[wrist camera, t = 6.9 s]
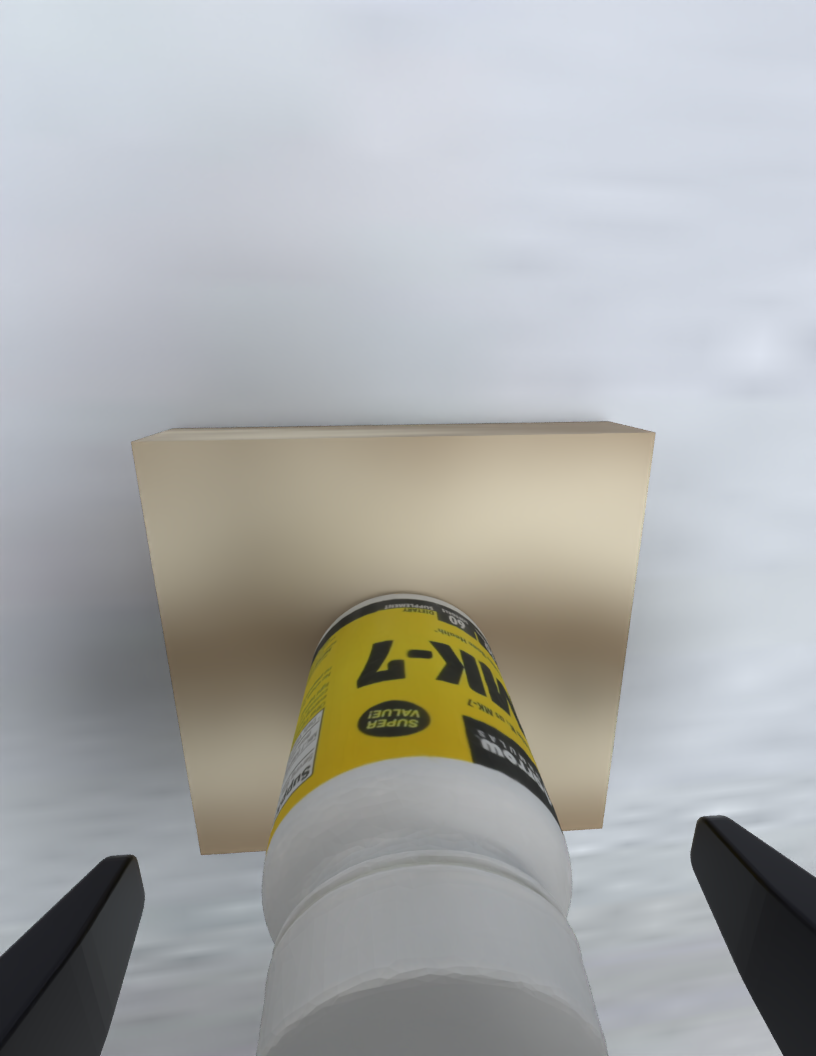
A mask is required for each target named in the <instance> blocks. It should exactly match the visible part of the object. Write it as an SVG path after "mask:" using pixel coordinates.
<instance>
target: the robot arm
mask: <svg viewBox="0 0 816 1056" xmlns="http://www.w3.org/2000/svg"><path fill="white" fill-rule="evenodd" d="M690 856H691V864H692V867H693V870H694V873H695V875H696V877H697V880H698V882H699V884H700V886H701V889H702V891H703V893H704V895H705V898H706V900H707V902H708V904H709V907H710V909H711V911H712V913H713V916H714V918H715V920H716V922H717V925H718V927H719V929H720V931H721V934H722V936H723V938H724V940H725V943H726V945H727V947H728V949H729V952H730V954H731V956H732V958H733V961H734V963H735V965H736V967H737V969H738V971H739V973H740V975H741V977H742V980H743V982H744V983H745V985H746V987H747V989H748V991H749V993H750V995H751V997H752V999H753V1001H754V1002H755V1004H756V1006H757V1008H758V1010H759V1012H760V1014H761V1015H762V1017H763V1019H764V1021H765V1023H766V1025H767V1026H768V1028H769V1030H770V1032H771V1034H772V1036H773V1037H774V1039H775V1041H776V1043H777V1045H778V1047H779V1048H780V1050H781V1052H782V1054H783V1056H816V877H814V876H813V875H811V874H810V873H808V872H807V871H806V870H804V869H803V868H801V867H800V866H798V865H797V864H795V863H794V862H792V861H791V860H790V859H788V858H787V857H785V856H784V855H782V854H781V853H779V852H778V851H776V850H775V849H774V848H772V847H771V846H769V845H768V844H766V843H765V842H763V841H762V840H760V839H759V838H758V837H756V836H755V835H753V834H752V833H750V832H749V831H747V830H746V829H744V828H743V827H742V826H740V825H739V824H737V823H736V822H734V821H733V820H731V819H730V818H728V817H726V816H722V815H717V816H703V817H700V818H699V819H698V821H697V823H696V828H695V833H694V838H693V843H692V848H691V854H690ZM144 901H145V893H144V887H143V883H142V878H141V874H140V869H139V865H138V861H137V858H136V857H135V856H134V855H117V856H109V857H106V858H105V859H103V860H102V861H101V862H100V863H99V864H98V865H96V866H95V867H94V868H93V869H92V870H91V871H90V872H89V873H88V874H87V875H86V876H85V877H84V878H83V879H82V880H81V881H80V882H79V883H78V884H76V885H75V886H74V887H73V888H72V889H71V890H70V891H69V892H68V893H67V894H66V895H65V896H64V897H63V898H62V899H61V900H60V901H59V902H57V903H56V904H55V905H54V906H53V907H52V908H51V909H50V910H49V911H48V912H47V913H46V914H45V915H44V916H43V917H42V918H41V919H40V920H39V921H37V922H36V923H35V924H34V925H33V926H32V927H31V928H30V929H29V930H28V931H27V932H26V933H25V934H24V935H23V936H22V937H21V938H20V939H18V940H17V941H16V942H15V943H14V944H13V945H12V946H11V947H10V948H9V949H8V950H7V951H6V952H5V953H4V954H3V955H2V956H1V957H0V1056H100V1054H101V1051H102V1049H103V1046H104V1043H105V1040H106V1037H107V1034H108V1031H109V1028H110V1025H111V1021H112V1018H113V1015H114V1011H115V1008H116V1004H117V1001H118V997H119V994H120V990H121V987H122V983H123V979H124V976H125V972H126V969H127V965H128V962H129V958H130V955H131V951H132V948H133V944H134V941H135V937H136V934H137V930H138V927H139V923H140V920H141V916H142V912H143V908H144Z"/></svg>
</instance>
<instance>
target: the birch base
mask: <svg viewBox="0 0 816 1056" xmlns="http://www.w3.org/2000/svg"><path fill="white" fill-rule="evenodd" d="M654 440H655V432H651V431H647V430H643V429H639V428H634V427H630V426H626V425H622V424H618V423H613V422H609V421H606V422H544V423H482V424H420V425H358V426H297V427H235V428H173V429H169V430H166V431H163V432H160V433H157V434H154V435H150V436H147V437H144V438H141V439H138V440H135V441H132V442H131V445H132V451H133V457H134V463H135V469H136V475H137V481H138V486H139V492H140V498H141V504H142V510H143V516H144V522H145V528H146V534H147V540H148V545H149V551H150V557H151V563H152V569H153V575H154V581H155V587H156V593H157V599H158V605H159V610H160V616H161V622H162V628H163V634H164V640H165V646H166V652H167V658H168V664H169V669H170V675H171V681H172V687H173V693H174V699H175V705H176V711H177V717H178V723H179V728H180V734H181V740H182V746H183V752H184V758H185V764H186V770H187V776H188V782H189V787H190V793H191V799H192V805H193V811H194V817H195V823H196V829H197V835H198V841H199V846H200V852H201V855H211V854H226V853H241V852H256V851H267V847H268V842H269V838H270V834H271V830H272V826H273V822H274V818H275V813H276V809H277V805H278V800H279V796H280V792H281V788H282V784H283V780H284V776H285V771H286V767H287V762H288V759H289V755H290V751H291V747H292V742H293V738H294V734H295V730H296V726H297V722H298V717H299V713H300V709H301V705H302V701H303V697H304V693H305V689H306V684H307V680H308V676H309V672H310V668H311V663H312V659H313V656H314V653H315V650H316V648H317V646H318V644H319V642H320V640H321V638H322V637H323V635H324V634H325V632H326V631H327V629H328V628H329V627H330V626H331V625H332V624H333V623H334V622H335V621H336V619H337V618H339V617H340V616H341V615H342V614H343V613H345V612H346V611H348V610H349V609H351V608H352V607H354V606H356V605H358V604H360V603H362V602H364V601H366V600H369V599H371V598H374V597H379V596H383V595H389V594H418V595H424V596H429V597H433V598H436V599H439V600H442V601H444V602H447V603H449V604H451V605H453V606H454V607H456V608H458V609H459V610H461V611H462V612H463V613H465V614H466V615H467V616H468V617H469V618H470V619H472V621H473V622H474V623H475V624H476V625H477V626H478V627H479V629H480V630H481V632H482V633H483V635H484V636H485V638H486V640H487V642H488V644H489V646H490V648H491V650H492V653H493V655H494V657H495V660H496V662H497V665H498V668H499V671H500V673H501V676H502V678H503V680H504V683H505V686H506V688H507V691H508V694H509V696H510V698H511V701H512V704H513V706H514V709H515V712H516V714H517V717H518V719H519V722H520V724H521V726H522V729H523V731H524V734H525V737H526V739H527V742H528V745H529V747H530V750H531V753H532V755H533V757H534V760H535V762H536V765H537V767H538V770H539V773H540V775H541V778H542V780H543V783H544V785H545V788H546V791H547V793H548V796H549V798H550V801H551V803H552V805H553V807H554V809H555V812H556V815H557V818H558V821H559V824H560V827H561V829H562V831H570V830H585V829H600V828H602V826H603V818H604V811H605V804H606V796H607V789H608V781H609V774H610V767H611V759H612V752H613V744H614V737H615V729H616V722H617V715H618V707H619V700H620V692H621V685H622V677H623V670H624V663H625V655H626V648H627V640H628V633H629V625H630V618H631V611H632V603H633V596H634V588H635V581H636V574H637V566H638V559H639V551H640V544H641V536H642V529H643V522H644V514H645V507H646V499H647V492H648V484H649V477H650V470H651V462H652V455H653V447H654Z"/></svg>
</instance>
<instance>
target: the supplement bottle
mask: <svg viewBox="0 0 816 1056" xmlns="http://www.w3.org/2000/svg"><path fill="white" fill-rule="evenodd" d="M571 897H572V870H571V862H570V857H569V852H568V848H567V844H566V841H565V837H564V835H563V832H562V829H561V827H560V824H559V821H558V818H557V815H556V812H555V809H554V807H553V805H552V803H551V801H550V798H549V796H548V793H547V791H546V788H545V785H544V783H543V780H542V778H541V775H540V773H539V770H538V767H537V765H536V762H535V760H534V757H533V755H532V753H531V750H530V747H529V745H528V742H527V739H526V737H525V734H524V731H523V729H522V726H521V724H520V722H519V719H518V717H517V714H516V712H515V709H514V706H513V704H512V701H511V698H510V696H509V694H508V691H507V688H506V686H505V683H504V680H503V678H502V676H501V673H500V671H499V668H498V665H497V662H496V660H495V657H494V655H493V653H492V650H491V648H490V646H489V644H488V642H487V640H486V638H485V636H484V635H483V633H482V632H481V630H480V629H479V627H478V626H477V625H476V624H475V623H474V622H473V621H472V619H470V618H469V617H468V616H467V615H466V614H465V613H463V612H462V611H461V610H459V609H458V608H456V607H454V606H453V605H451V604H449V603H447V602H444V601H442V600H439V599H436V598H433V597H429V596H424V595H418V594H389V595H383V596H379V597H374V598H371V599H369V600H366V601H364V602H362V603H360V604H358V605H356V606H354V607H352V608H351V609H349V610H348V611H346V612H345V613H343V614H342V615H341V616H340V617H339V618H337V619H336V621H335V622H334V623H333V624H332V625H331V626H330V627H329V628H328V629H327V631H326V632H325V634H324V635H323V637H322V638H321V640H320V642H319V644H318V646H317V648H316V650H315V653H314V656H313V659H312V663H311V668H310V672H309V676H308V680H307V684H306V689H305V693H304V697H303V701H302V705H301V709H300V713H299V717H298V722H297V726H296V730H295V734H294V738H293V742H292V747H291V751H290V755H289V759H288V762H287V767H286V771H285V776H284V780H283V784H282V788H281V792H280V796H279V800H278V805H277V809H276V813H275V818H274V822H273V826H272V830H271V834H270V838H269V842H268V847H267V851H266V857H265V863H264V870H263V879H262V905H263V911H264V916H265V920H266V925H267V927H268V930H269V933H270V936H271V938H272V940H273V942H274V944H275V945H274V949H273V954H272V959H271V962H270V966H269V969H268V973H267V979H266V987H265V998H264V1006H263V1012H262V1019H261V1026H260V1032H259V1039H258V1046H257V1052H256V1056H608V1051H607V1046H606V1041H605V1037H604V1034H603V1031H602V1028H601V1024H600V1021H599V1018H598V1015H597V1011H596V1008H595V1004H594V1000H593V996H592V993H591V989H590V985H589V982H588V978H587V975H586V972H585V969H584V965H583V962H582V955H581V950H580V946H579V943H578V941H577V938H576V936H575V934H574V932H573V930H572V928H571V927H570V925H569V924H568V921H567V915H568V911H569V907H570V903H571Z"/></svg>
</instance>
